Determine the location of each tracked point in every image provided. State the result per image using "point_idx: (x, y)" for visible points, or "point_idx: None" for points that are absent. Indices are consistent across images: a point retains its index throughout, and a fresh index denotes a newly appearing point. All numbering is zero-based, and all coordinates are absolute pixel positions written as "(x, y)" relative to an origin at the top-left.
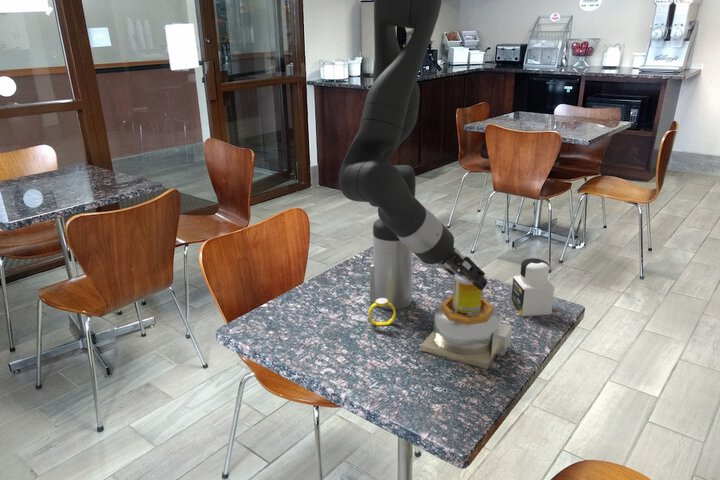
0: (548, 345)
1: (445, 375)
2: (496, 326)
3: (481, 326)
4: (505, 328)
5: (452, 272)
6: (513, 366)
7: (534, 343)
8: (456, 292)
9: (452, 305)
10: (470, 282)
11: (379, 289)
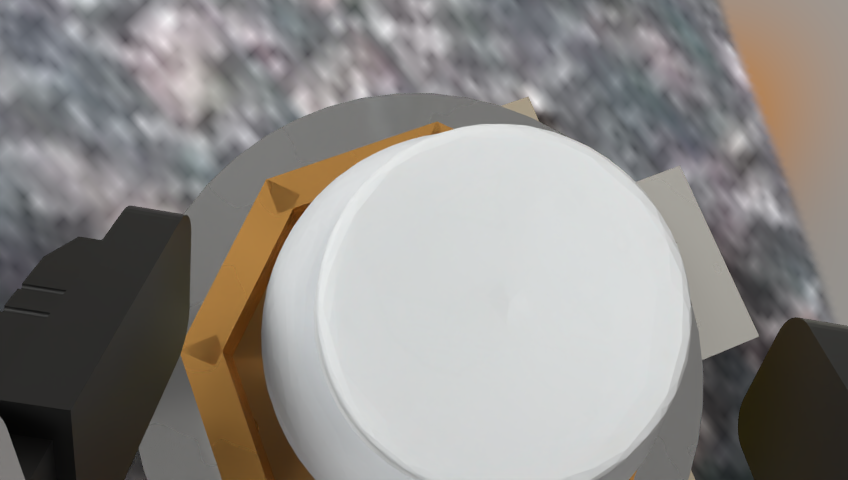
0: (721, 28)
1: None
2: None
3: (675, 465)
4: (676, 232)
5: (171, 351)
6: (755, 358)
7: (662, 65)
8: None
9: (247, 358)
10: (636, 464)
11: None
